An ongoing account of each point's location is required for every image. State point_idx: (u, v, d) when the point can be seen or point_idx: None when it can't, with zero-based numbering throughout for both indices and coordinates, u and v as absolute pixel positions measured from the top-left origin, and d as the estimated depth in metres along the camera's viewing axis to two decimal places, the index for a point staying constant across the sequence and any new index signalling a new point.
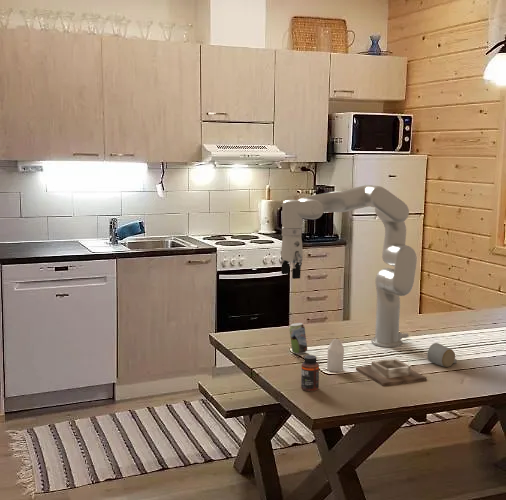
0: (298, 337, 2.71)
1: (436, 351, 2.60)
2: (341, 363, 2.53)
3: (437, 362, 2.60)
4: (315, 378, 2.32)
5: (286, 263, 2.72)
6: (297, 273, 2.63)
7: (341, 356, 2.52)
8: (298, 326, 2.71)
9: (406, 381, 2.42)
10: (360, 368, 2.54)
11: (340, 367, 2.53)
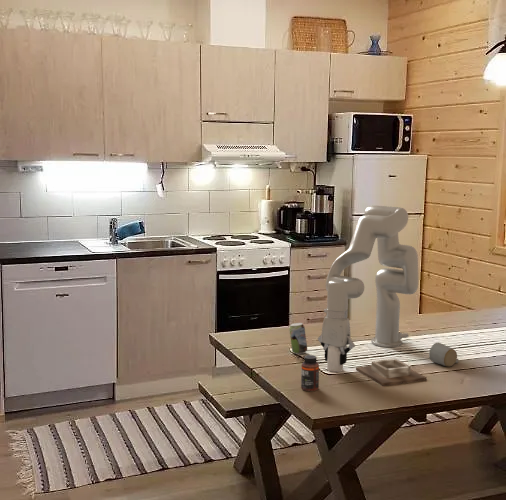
0: (298, 337, 2.71)
1: (438, 351, 2.61)
2: None
3: (439, 362, 2.61)
4: (315, 378, 2.32)
5: None
6: None
7: None
8: (298, 326, 2.71)
9: (406, 381, 2.42)
10: (360, 368, 2.54)
11: (340, 367, 2.53)
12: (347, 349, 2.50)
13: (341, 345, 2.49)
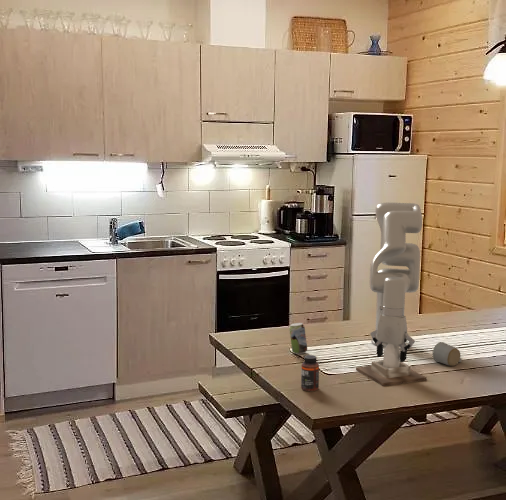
0: (298, 337, 2.71)
1: (441, 350, 2.62)
2: (398, 365, 2.48)
3: (442, 361, 2.62)
4: (315, 378, 2.32)
5: None
6: None
7: (398, 358, 2.47)
8: (298, 326, 2.71)
9: (406, 381, 2.42)
10: (360, 368, 2.54)
11: None
12: (408, 346, 2.44)
13: (398, 343, 2.44)
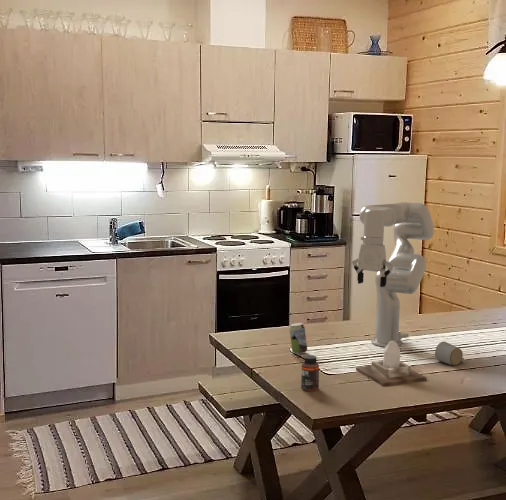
0: (298, 337, 2.71)
1: (444, 350, 2.62)
2: (398, 365, 2.48)
3: (445, 360, 2.62)
4: (315, 378, 2.32)
5: None
6: None
7: (398, 358, 2.47)
8: (298, 326, 2.71)
9: (406, 381, 2.42)
10: (360, 368, 2.54)
11: None
12: (387, 272, 2.63)
13: (378, 269, 2.64)
